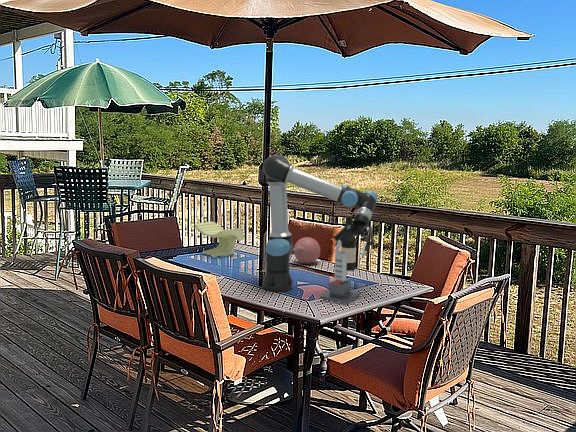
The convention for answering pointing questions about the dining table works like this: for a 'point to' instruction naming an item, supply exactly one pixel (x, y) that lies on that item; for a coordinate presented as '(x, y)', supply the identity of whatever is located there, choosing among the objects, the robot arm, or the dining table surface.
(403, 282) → the dining table surface
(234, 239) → the slatted curved stool
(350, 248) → the wine bottle
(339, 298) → the stand
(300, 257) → the pink rounded ovoid
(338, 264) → the column
